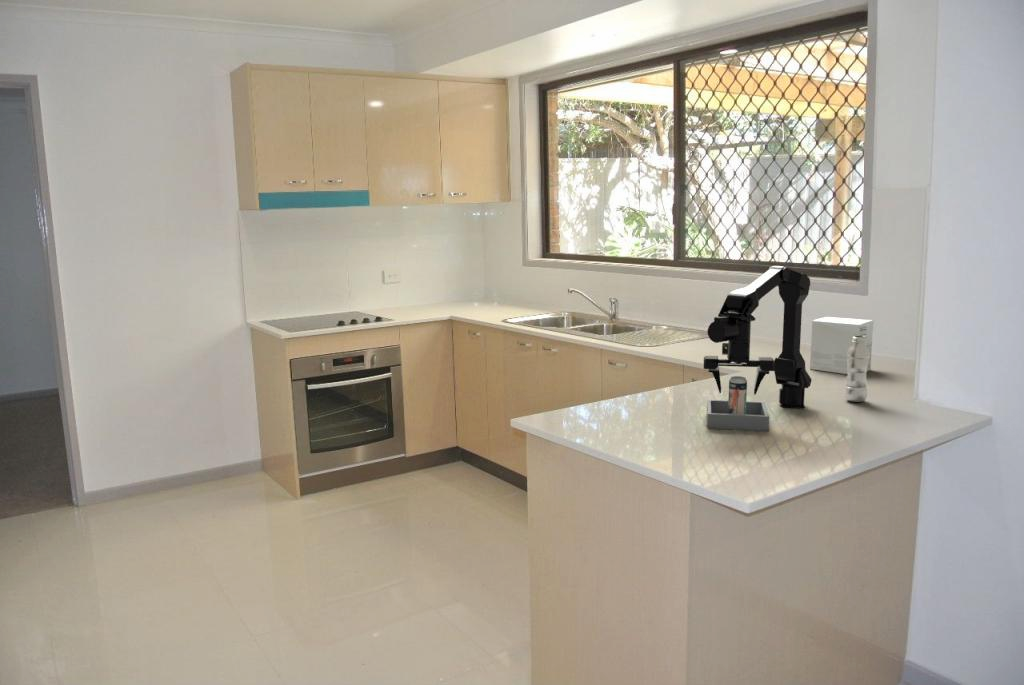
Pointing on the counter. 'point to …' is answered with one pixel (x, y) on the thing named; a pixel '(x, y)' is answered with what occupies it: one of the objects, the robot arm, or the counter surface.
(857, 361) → the plastic bottle
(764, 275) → the robot arm
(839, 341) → the supplement box
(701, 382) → the counter surface
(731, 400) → the beer can
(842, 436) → the counter surface
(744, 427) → the box
